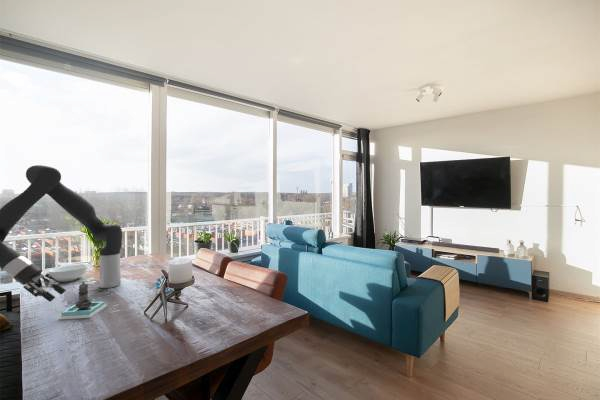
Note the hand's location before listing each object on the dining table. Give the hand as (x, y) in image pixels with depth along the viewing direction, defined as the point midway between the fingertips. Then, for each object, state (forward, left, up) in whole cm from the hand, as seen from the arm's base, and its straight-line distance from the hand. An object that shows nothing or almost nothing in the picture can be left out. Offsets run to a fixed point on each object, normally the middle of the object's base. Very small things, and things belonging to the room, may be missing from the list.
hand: (58, 295), depth 116 cm
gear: (-26, +34, -8) cm, 43 cm away
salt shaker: (-2, +8, -7) cm, 11 cm away
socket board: (-2, +8, -8) cm, 12 cm away
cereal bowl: (-53, -30, -8) cm, 61 cm away
